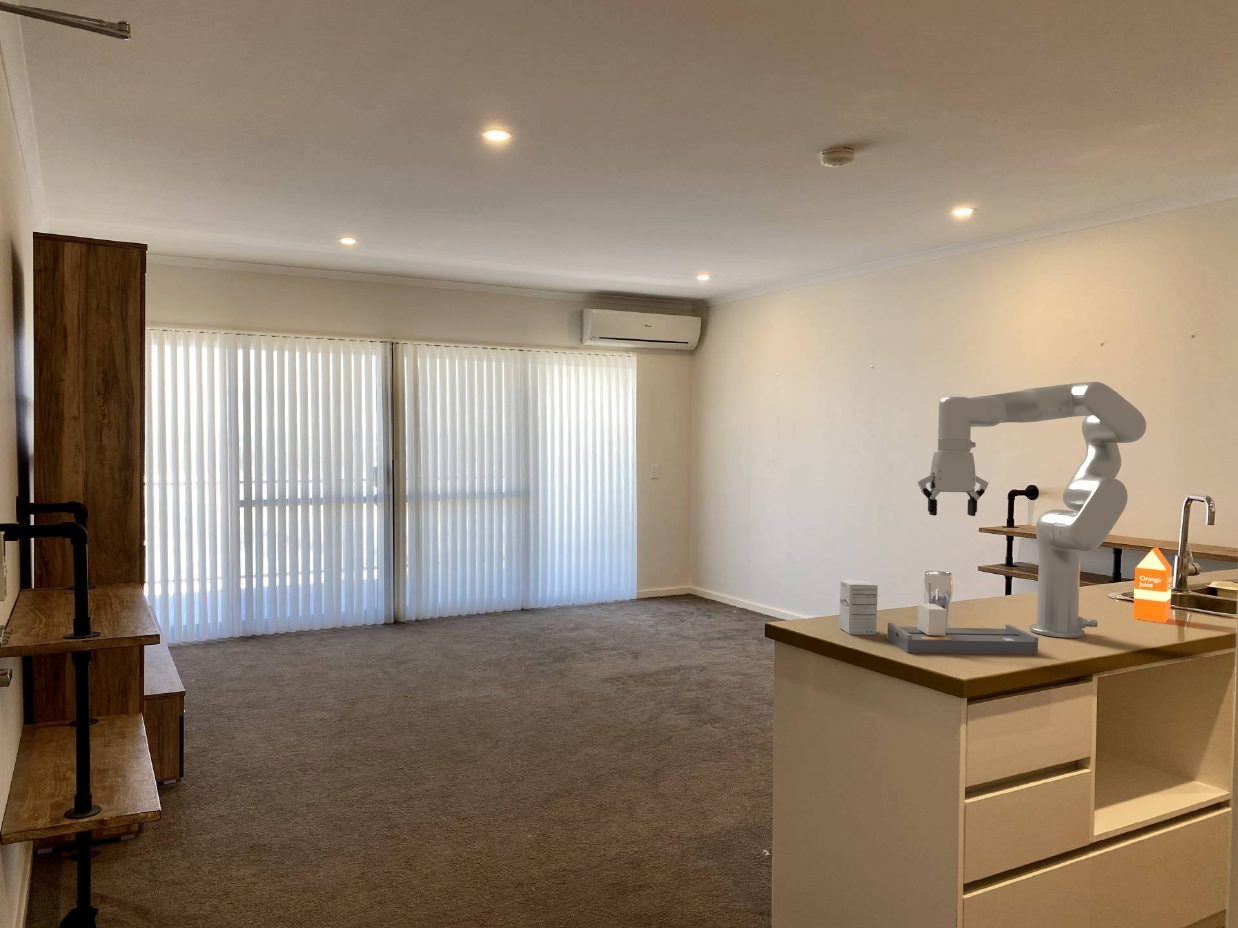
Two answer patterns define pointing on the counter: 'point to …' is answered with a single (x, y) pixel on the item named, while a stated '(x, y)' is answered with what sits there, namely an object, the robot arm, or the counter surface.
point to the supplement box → (858, 607)
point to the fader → (931, 619)
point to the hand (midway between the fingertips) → (952, 515)
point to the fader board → (965, 641)
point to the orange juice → (1153, 588)
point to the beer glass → (938, 590)
